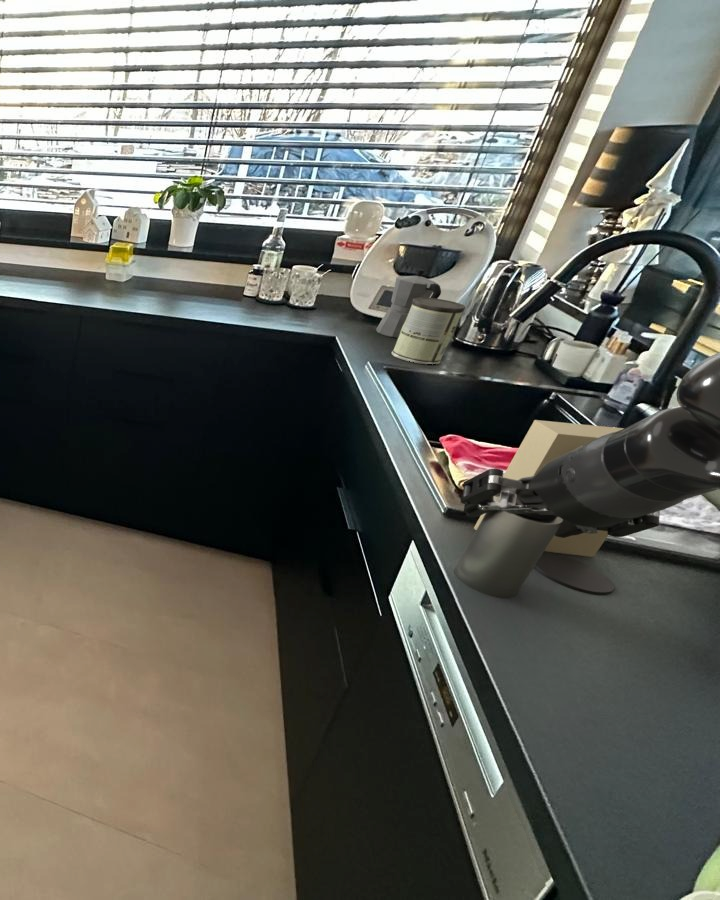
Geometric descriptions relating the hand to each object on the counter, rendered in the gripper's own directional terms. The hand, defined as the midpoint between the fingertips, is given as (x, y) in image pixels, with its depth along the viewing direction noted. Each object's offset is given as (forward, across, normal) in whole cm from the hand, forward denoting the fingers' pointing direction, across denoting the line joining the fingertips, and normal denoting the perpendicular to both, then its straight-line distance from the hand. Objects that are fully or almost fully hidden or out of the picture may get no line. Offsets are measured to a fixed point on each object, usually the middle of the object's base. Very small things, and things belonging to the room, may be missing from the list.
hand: (513, 518), depth 73 cm
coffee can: (+81, -12, -67) cm, 106 cm away
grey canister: (+6, 0, +8) cm, 10 cm away
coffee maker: (+12, -10, +1) cm, 16 cm away
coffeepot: (+96, -12, -82) cm, 127 cm away
